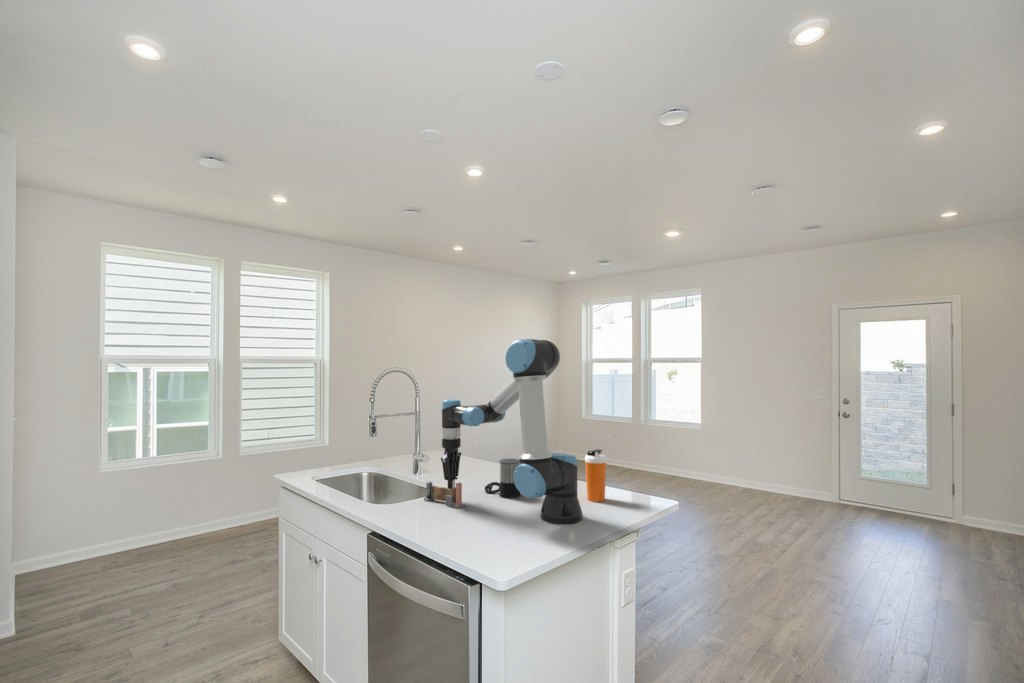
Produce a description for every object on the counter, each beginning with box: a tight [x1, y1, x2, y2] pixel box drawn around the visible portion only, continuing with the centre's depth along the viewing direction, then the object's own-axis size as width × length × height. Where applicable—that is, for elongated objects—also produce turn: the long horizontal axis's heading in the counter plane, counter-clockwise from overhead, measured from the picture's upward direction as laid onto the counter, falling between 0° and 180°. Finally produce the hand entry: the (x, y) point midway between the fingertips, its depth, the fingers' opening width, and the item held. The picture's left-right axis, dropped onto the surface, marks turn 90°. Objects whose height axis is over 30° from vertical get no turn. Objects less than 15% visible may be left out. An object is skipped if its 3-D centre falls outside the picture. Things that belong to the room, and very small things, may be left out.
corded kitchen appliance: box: [484, 458, 522, 499], centre depth 213 cm, size 14×16×15 cm
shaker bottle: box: [584, 449, 608, 503], centre depth 204 cm, size 9×9×20 cm
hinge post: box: [423, 481, 436, 502], centre depth 204 cm, size 4×4×7 cm
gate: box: [431, 485, 456, 504], centre depth 200 cm, size 14×2×6 cm, turn 58°
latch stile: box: [445, 482, 466, 509], centre depth 195 cm, size 7×4×9 cm, turn 53°
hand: (451, 495), depth 201 cm, fingers closed
